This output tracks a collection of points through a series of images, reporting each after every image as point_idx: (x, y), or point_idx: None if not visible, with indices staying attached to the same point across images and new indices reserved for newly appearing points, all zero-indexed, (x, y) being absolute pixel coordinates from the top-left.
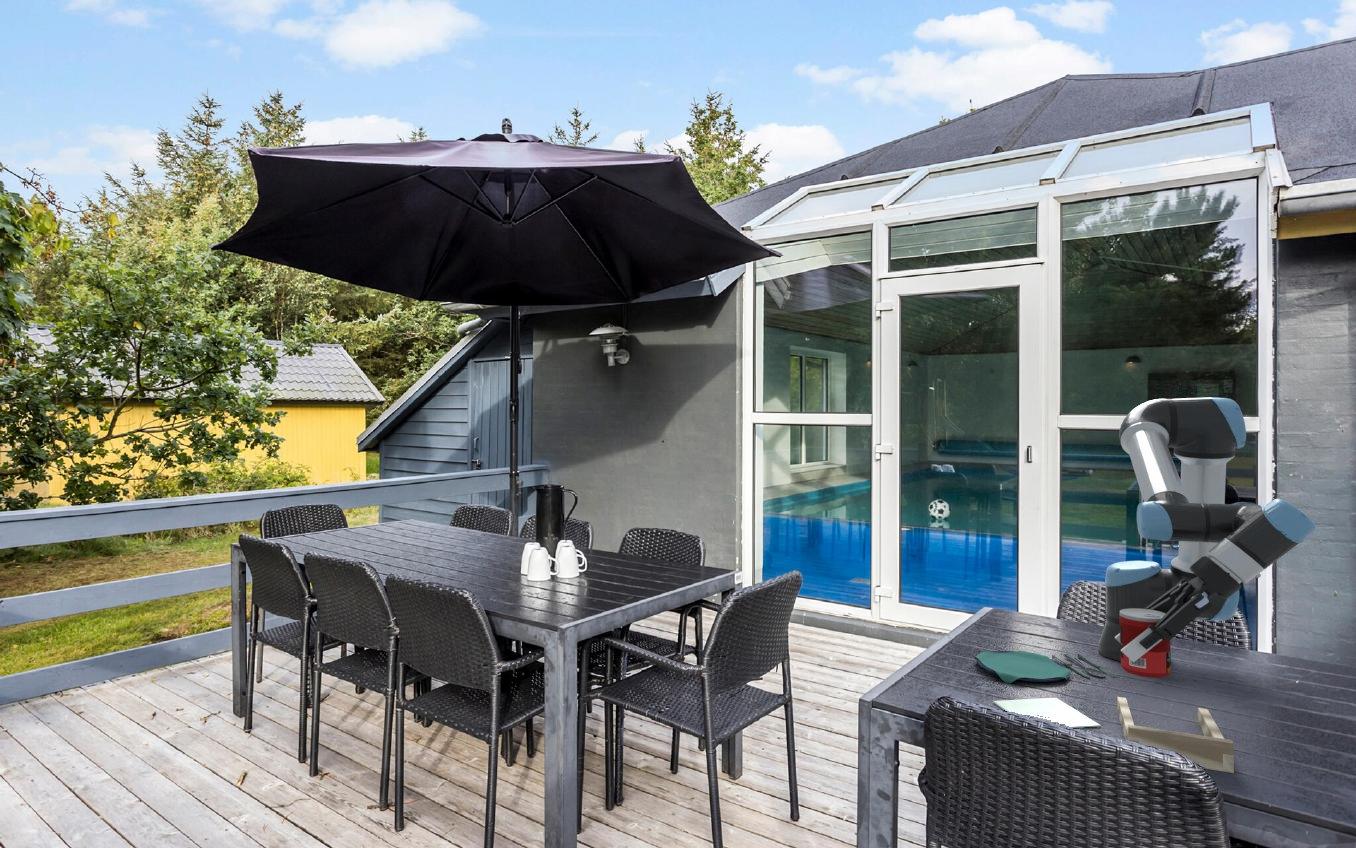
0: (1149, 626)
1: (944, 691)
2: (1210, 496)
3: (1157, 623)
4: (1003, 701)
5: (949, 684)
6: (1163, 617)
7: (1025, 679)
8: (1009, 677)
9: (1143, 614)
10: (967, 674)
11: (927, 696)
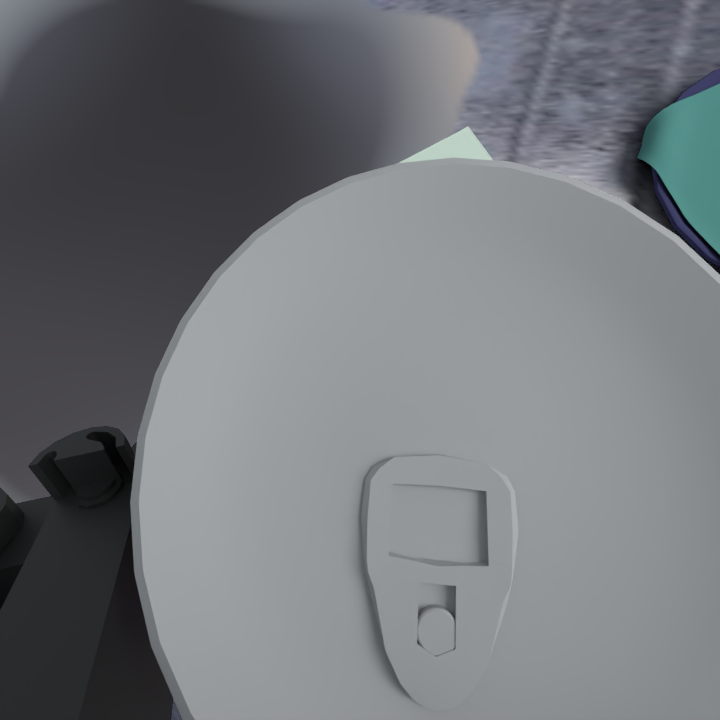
0: (65, 437)
1: (498, 38)
2: None
3: (91, 552)
4: (474, 145)
5: (553, 40)
6: (33, 715)
7: (655, 180)
8: (646, 142)
9: (496, 459)
10: (657, 65)
11: (449, 14)
